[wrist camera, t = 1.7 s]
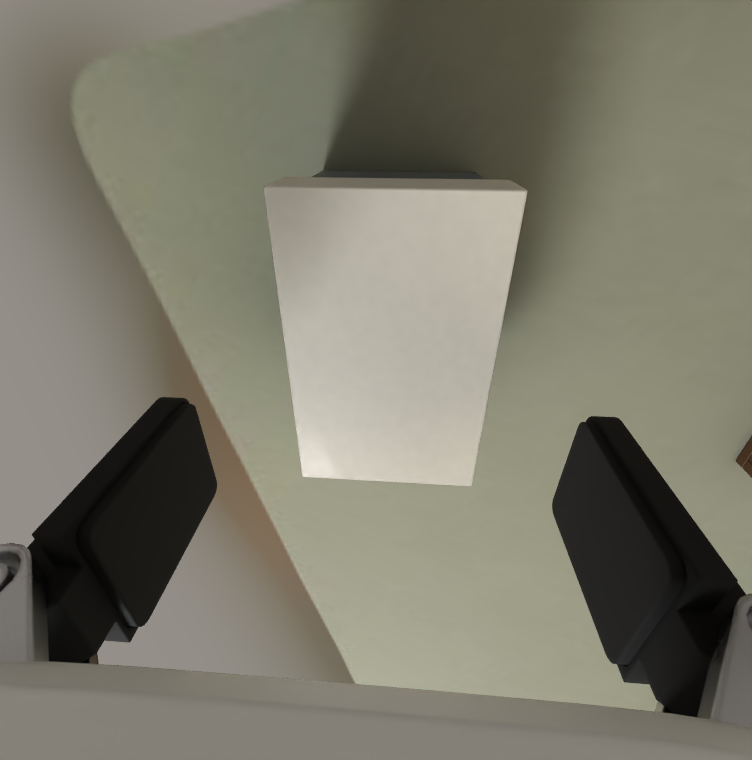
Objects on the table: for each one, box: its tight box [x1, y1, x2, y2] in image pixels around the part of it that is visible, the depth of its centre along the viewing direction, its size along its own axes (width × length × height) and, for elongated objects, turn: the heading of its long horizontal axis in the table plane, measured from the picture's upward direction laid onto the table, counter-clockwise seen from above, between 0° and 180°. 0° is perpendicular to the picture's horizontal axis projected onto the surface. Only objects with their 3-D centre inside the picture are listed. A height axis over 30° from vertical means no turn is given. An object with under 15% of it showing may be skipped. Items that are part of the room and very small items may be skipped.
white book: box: [264, 177, 527, 486], centre depth 14 cm, size 10×7×2 cm, turn 0°
